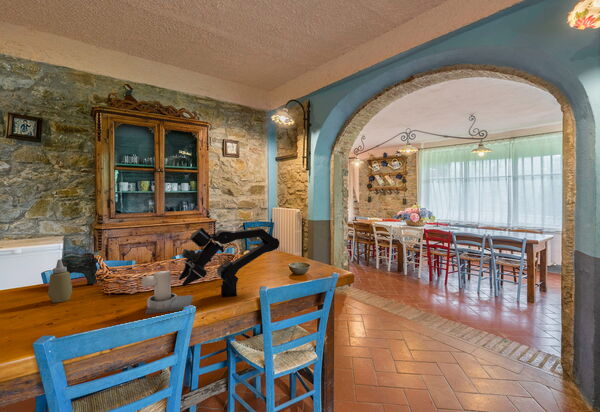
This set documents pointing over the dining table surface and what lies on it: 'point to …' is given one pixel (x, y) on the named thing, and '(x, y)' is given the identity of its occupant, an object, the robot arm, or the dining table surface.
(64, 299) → the squeeze bottle
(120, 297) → the dining table surface
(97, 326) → the dining table surface
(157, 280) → the duct elbow
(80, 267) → the spray gun
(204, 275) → the robot arm
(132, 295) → the dining table surface
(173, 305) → the duct board
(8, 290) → the dining table surface
